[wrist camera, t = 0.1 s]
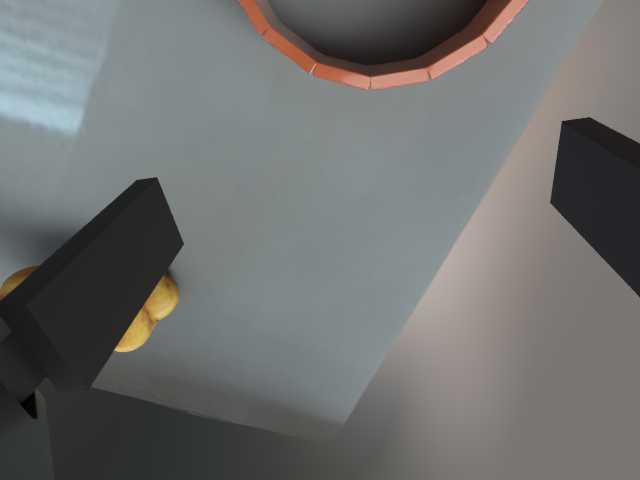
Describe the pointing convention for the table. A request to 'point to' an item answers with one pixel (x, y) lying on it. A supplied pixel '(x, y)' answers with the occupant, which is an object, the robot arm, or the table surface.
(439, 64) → the terracotta brick ring
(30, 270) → the bread roll
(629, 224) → the robot arm
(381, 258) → the table surface
